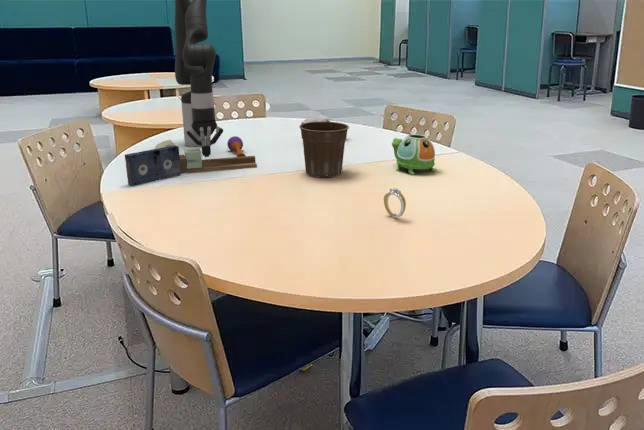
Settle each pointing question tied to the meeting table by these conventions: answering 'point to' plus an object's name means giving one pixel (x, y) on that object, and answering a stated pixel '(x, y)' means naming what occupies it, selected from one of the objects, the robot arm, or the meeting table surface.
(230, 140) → the kendama
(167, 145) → the fossil replica
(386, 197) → the ring
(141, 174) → the vhs cassette tape
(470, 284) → the meeting table surface
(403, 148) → the turtle holder
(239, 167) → the rail
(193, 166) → the keeper
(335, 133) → the plant pot
